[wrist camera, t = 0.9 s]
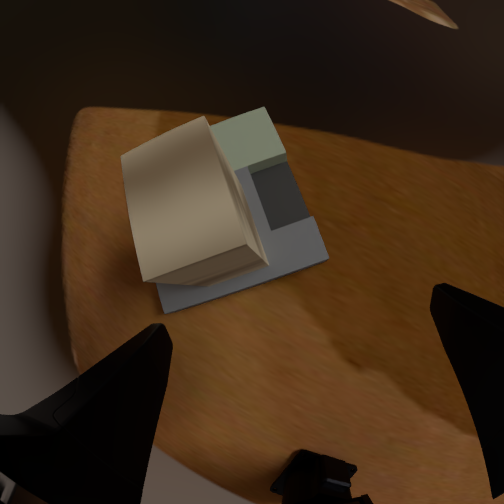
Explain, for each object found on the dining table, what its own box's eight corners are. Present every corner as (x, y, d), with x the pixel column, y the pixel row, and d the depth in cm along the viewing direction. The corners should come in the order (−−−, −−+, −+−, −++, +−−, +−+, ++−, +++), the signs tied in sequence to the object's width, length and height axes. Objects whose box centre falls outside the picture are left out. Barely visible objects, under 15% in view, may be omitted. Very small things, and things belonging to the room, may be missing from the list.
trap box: (326, 261, 22) (329, 258, 20) (174, 312, 24) (164, 314, 22) (266, 118, 25) (264, 106, 23) (141, 170, 27) (131, 163, 25)
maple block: (269, 265, 21) (246, 243, 11) (209, 286, 22) (143, 281, 12) (241, 185, 22) (203, 115, 13) (186, 206, 23) (120, 156, 13)
